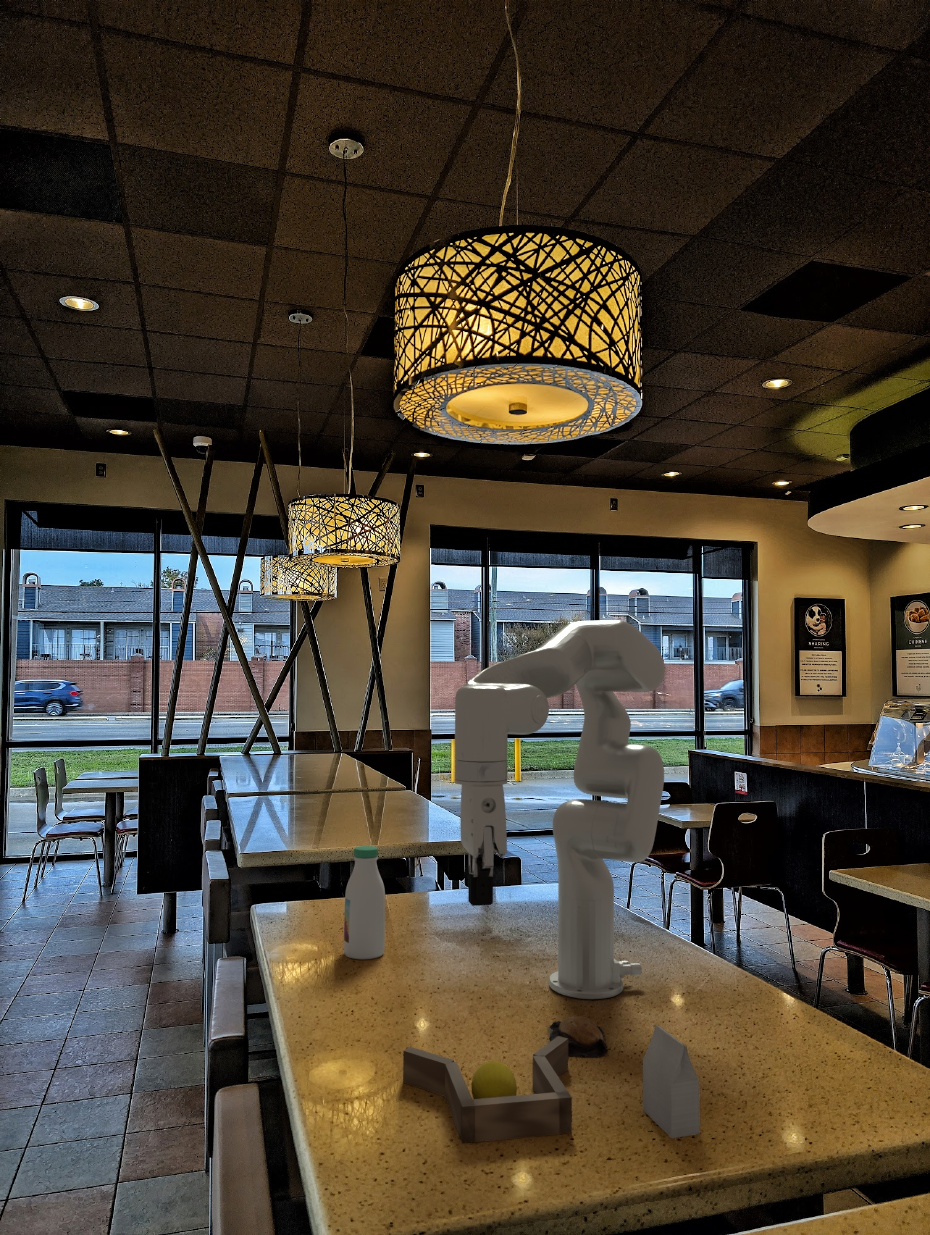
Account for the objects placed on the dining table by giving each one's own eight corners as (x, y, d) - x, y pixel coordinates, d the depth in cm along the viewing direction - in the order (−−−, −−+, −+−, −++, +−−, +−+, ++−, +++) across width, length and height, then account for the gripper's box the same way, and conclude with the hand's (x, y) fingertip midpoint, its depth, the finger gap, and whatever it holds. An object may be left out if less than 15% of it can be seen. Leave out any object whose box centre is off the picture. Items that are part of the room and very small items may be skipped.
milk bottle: (391, 951, 167) (393, 845, 168) (371, 963, 160) (373, 852, 161) (357, 945, 170) (359, 842, 172) (335, 957, 163) (337, 849, 165)
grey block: (671, 1138, 100) (671, 1048, 100) (643, 1110, 106) (642, 1026, 107) (699, 1133, 101) (698, 1045, 101) (669, 1106, 107) (669, 1023, 108)
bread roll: (544, 1032, 131) (543, 1006, 131) (599, 1031, 131) (598, 1006, 132) (554, 1062, 120) (554, 1034, 121) (614, 1061, 121) (614, 1033, 121)
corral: (565, 1065, 118) (565, 1035, 118) (610, 1129, 101) (610, 1093, 102) (401, 1078, 114) (402, 1047, 114) (420, 1147, 97) (421, 1110, 97)
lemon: (507, 1100, 109) (512, 1134, 101) (465, 1088, 109) (466, 1120, 101) (519, 1057, 110) (525, 1087, 102) (477, 1045, 110) (480, 1073, 102)
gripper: (520, 778, 117) (520, 917, 115) (494, 766, 131) (494, 889, 130) (465, 779, 115) (464, 920, 114) (445, 767, 130) (445, 891, 129)
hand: (480, 903), depth 122 cm, fingers closed
